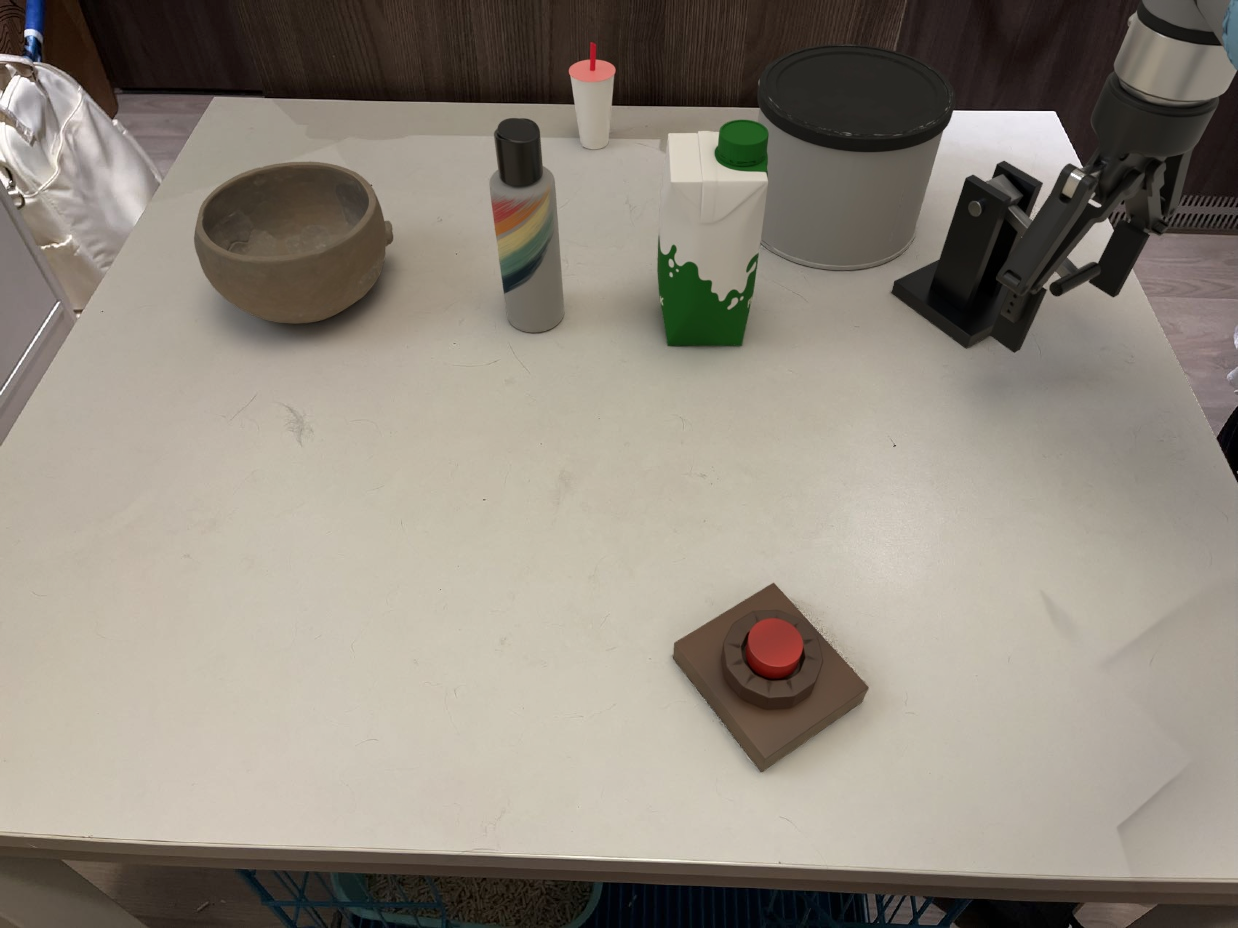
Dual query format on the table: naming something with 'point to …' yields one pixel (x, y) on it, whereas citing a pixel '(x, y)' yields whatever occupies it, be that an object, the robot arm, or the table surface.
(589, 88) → the cup
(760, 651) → the red push button
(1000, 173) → the black lever switch
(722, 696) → the control block
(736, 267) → the milk carton
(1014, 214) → the lever handle
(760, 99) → the container
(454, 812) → the table surface
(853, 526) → the table surface
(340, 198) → the bowl
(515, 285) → the lotion bottle
